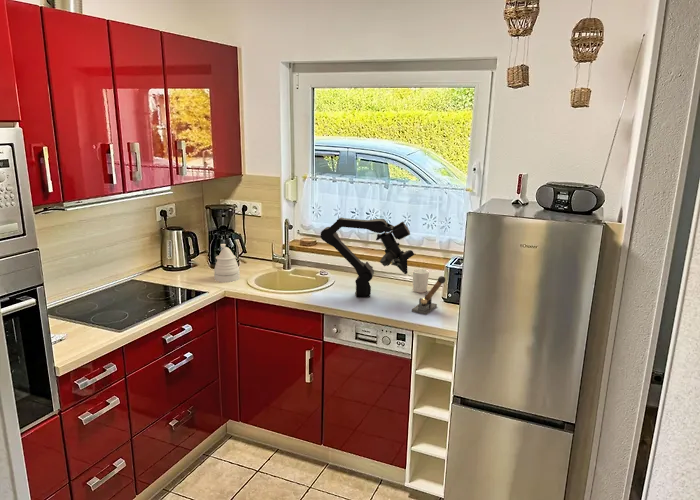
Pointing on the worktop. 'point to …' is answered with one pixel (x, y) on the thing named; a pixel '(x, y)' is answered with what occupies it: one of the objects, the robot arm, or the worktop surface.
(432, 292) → the lever
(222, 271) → the honey pot
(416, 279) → the white cup
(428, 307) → the press base
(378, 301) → the worktop surface
